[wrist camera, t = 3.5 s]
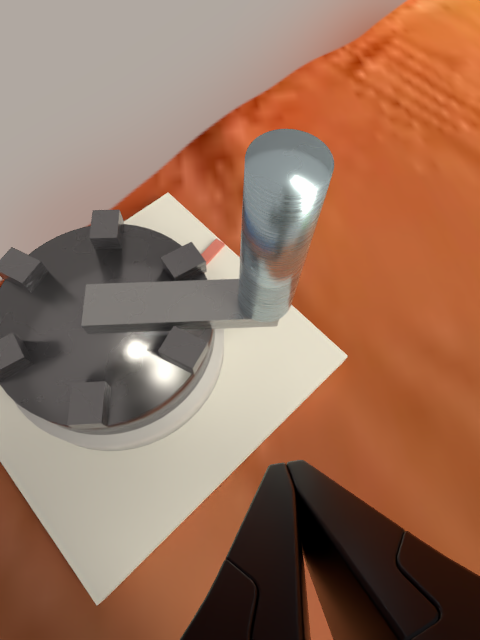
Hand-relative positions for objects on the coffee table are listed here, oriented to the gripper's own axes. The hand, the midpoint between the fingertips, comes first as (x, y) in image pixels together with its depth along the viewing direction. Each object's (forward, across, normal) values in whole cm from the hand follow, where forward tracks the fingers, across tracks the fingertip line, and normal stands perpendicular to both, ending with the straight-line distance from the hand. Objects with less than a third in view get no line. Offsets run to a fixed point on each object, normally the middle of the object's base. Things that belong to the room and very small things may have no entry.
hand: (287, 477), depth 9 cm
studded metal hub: (+13, -5, -1) cm, 15 cm away
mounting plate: (+15, -7, -3) cm, 17 cm away
